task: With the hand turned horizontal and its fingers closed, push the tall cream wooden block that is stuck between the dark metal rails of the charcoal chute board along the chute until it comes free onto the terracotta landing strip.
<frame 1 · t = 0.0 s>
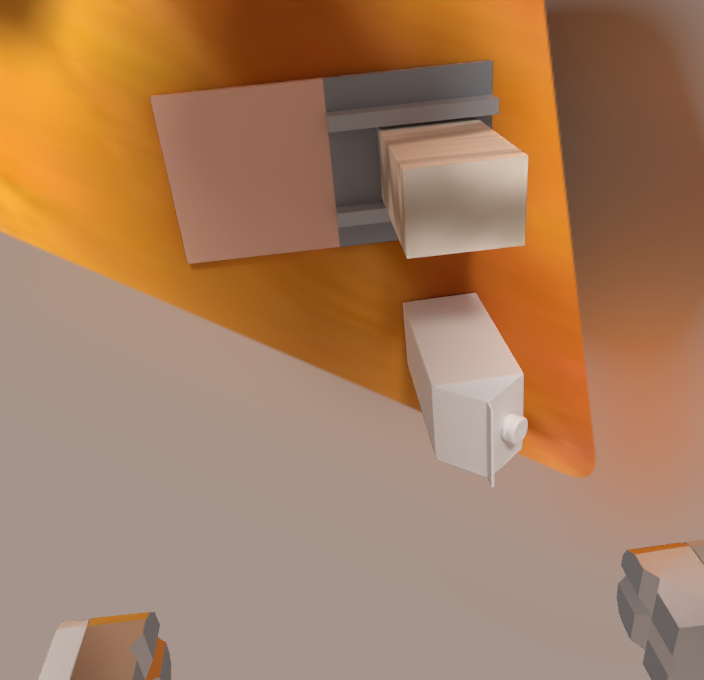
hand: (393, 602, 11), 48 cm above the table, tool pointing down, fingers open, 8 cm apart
milk carton: (440, 327, 64), on the table
chute: (331, 165, 55), on the table
block: (443, 180, 49), point 8 cm above the table, slide at 0.0 cm
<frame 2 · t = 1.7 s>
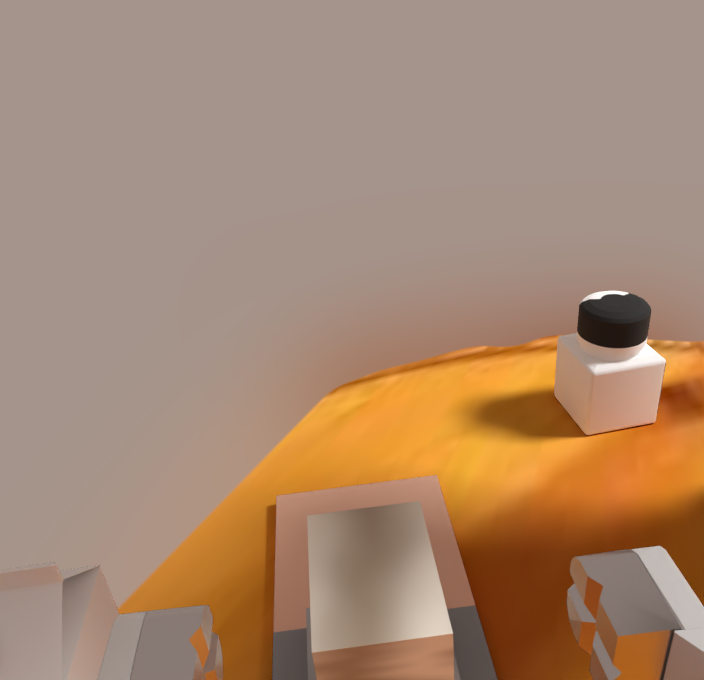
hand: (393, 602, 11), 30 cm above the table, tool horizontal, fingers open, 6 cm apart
medicine bottle: (602, 410, 64), on the table
chute: (375, 628, 45), on the table
block: (382, 660, 34), point 8 cm above the table, slide at 0.0 cm
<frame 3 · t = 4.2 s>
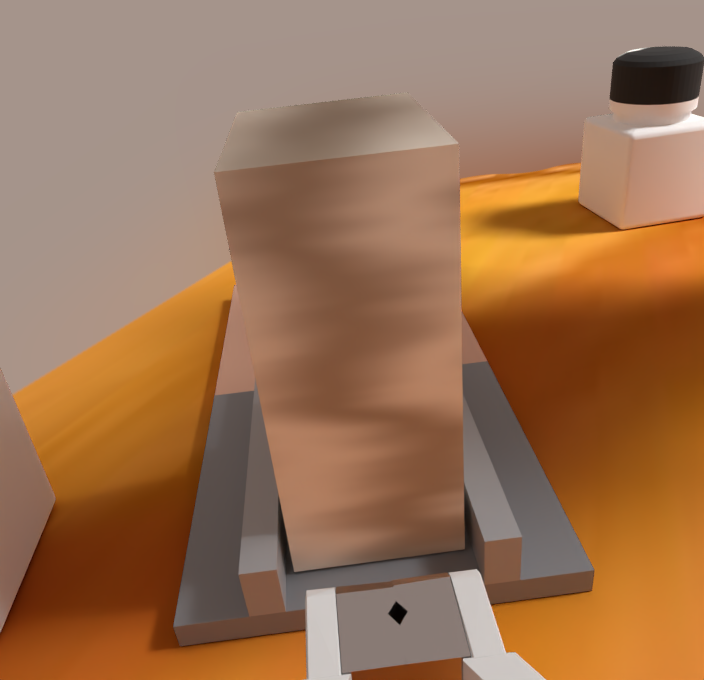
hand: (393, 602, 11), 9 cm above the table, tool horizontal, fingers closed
medicine bottle: (638, 212, 53), on the table
chute: (353, 394, 34), on the table
block: (351, 331, 23), point 8 cm above the table, slide at 0.0 cm
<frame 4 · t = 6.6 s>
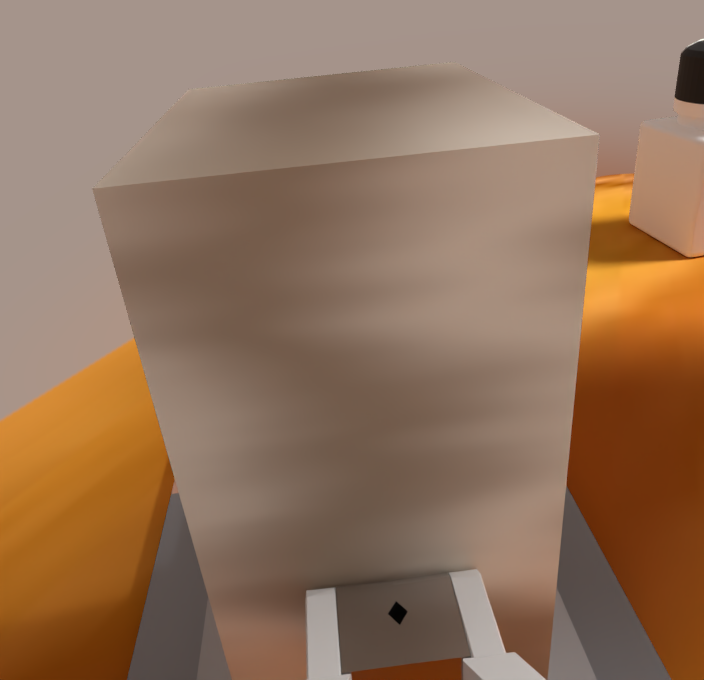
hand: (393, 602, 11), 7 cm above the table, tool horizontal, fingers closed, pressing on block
medicine bottle: (703, 236, 44), on the table
chute: (362, 491, 25), on the table
block: (363, 432, 15), point 8 cm above the table, slide at 0.9 cm, touching gripper
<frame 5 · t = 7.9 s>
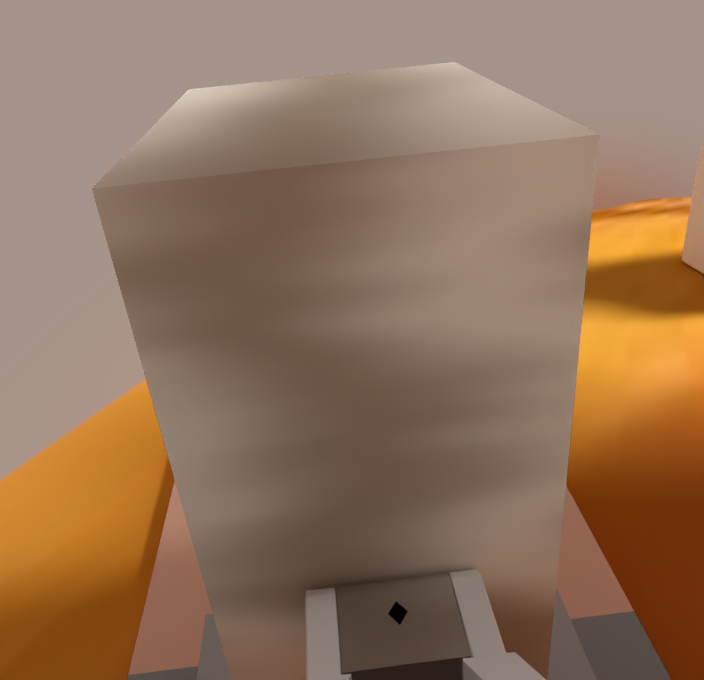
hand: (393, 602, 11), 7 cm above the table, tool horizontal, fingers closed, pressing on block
chute: (385, 665, 18), on the table
block: (363, 433, 15), point 8 cm above the table, slide at 8.1 cm, touching gripper
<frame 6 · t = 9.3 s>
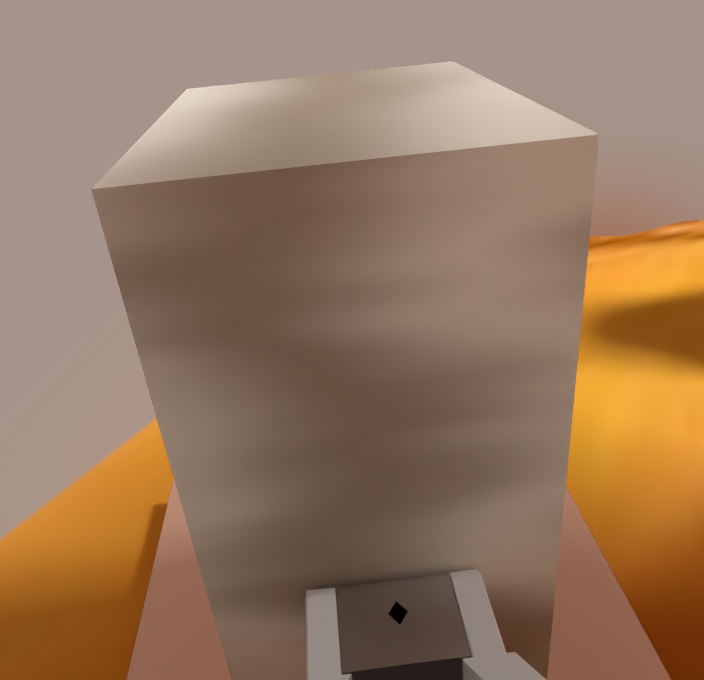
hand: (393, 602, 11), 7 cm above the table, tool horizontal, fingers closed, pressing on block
block: (362, 432, 15), point 8 cm above the table, slide at 13.8 cm, touching gripper
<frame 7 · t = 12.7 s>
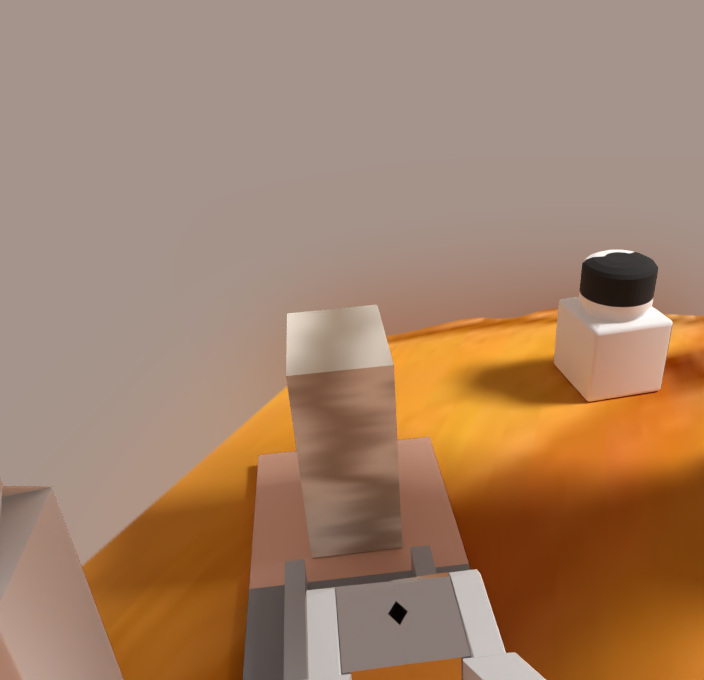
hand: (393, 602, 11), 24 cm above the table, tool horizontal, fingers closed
medicine bottle: (604, 379, 61), on the table
chute: (360, 587, 42), on the table
block: (344, 430, 43), point 8 cm above the table, slide at 13.9 cm
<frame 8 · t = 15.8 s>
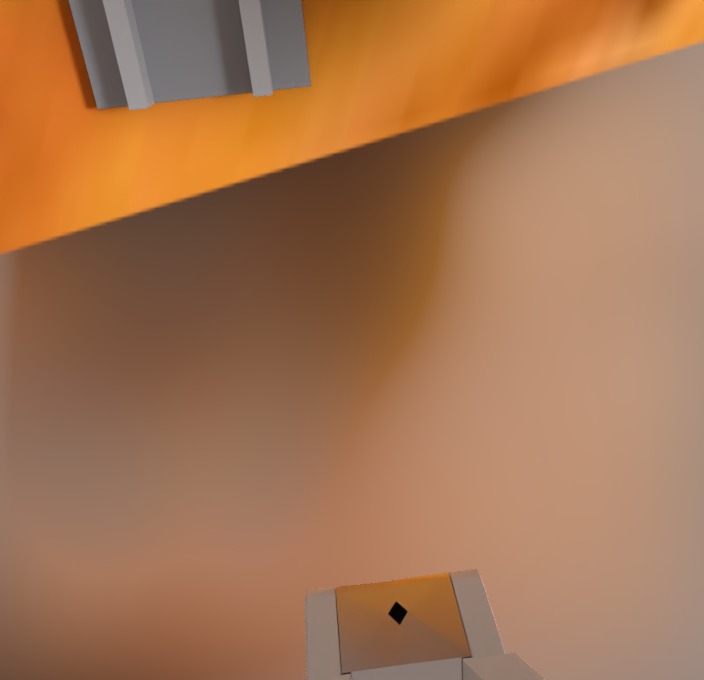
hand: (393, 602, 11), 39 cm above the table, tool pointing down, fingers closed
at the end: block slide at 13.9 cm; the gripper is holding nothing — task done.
